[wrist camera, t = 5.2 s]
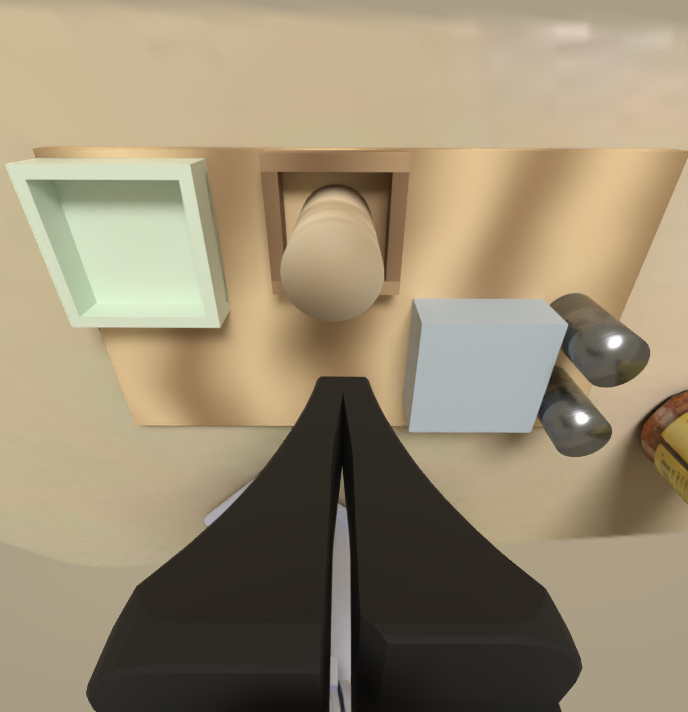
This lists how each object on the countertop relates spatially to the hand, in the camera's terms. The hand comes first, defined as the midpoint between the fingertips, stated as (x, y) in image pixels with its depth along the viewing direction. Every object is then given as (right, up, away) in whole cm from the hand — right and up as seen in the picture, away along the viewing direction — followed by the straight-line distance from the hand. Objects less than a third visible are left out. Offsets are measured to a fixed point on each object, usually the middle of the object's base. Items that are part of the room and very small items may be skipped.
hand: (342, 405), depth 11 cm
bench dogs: (+11, +2, +9) cm, 14 cm away
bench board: (+1, +4, +8) cm, 9 cm away
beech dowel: (0, +7, +5) cm, 9 cm away
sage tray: (-9, +6, +6) cm, 12 cm away
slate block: (+6, +2, +9) cm, 11 cm away
